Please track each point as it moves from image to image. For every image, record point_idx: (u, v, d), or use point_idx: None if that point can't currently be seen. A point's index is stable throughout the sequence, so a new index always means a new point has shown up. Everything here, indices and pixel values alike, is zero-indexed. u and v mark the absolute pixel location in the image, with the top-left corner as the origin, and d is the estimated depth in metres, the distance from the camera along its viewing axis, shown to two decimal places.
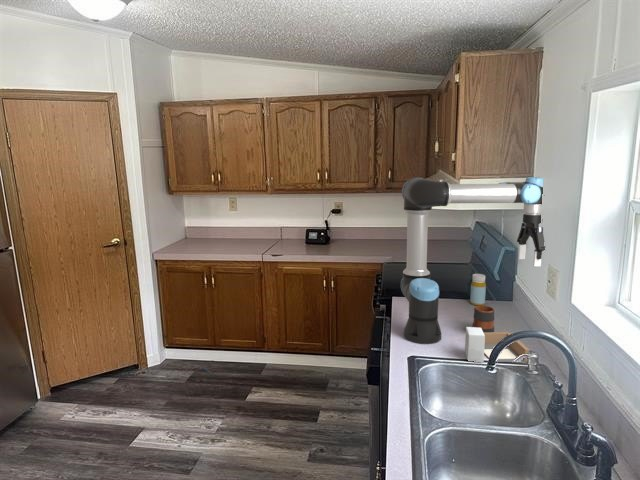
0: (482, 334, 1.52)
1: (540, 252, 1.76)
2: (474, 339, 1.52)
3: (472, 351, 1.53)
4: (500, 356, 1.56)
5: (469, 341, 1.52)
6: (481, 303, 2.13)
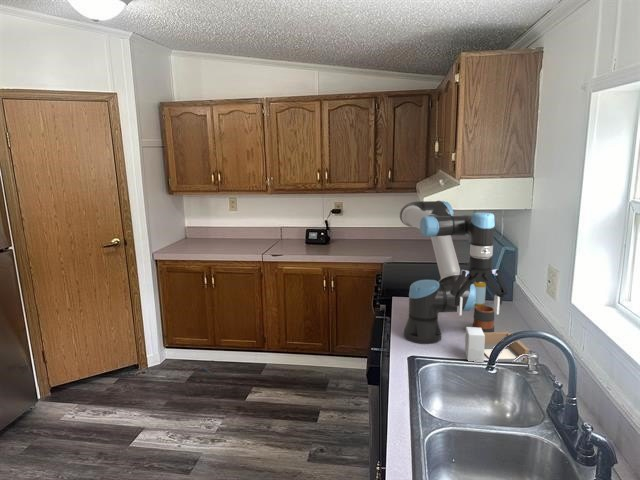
0: (482, 334, 1.52)
1: (456, 297, 1.53)
2: (474, 339, 1.52)
3: (472, 351, 1.53)
4: (500, 356, 1.56)
5: (469, 341, 1.52)
6: (481, 303, 2.13)
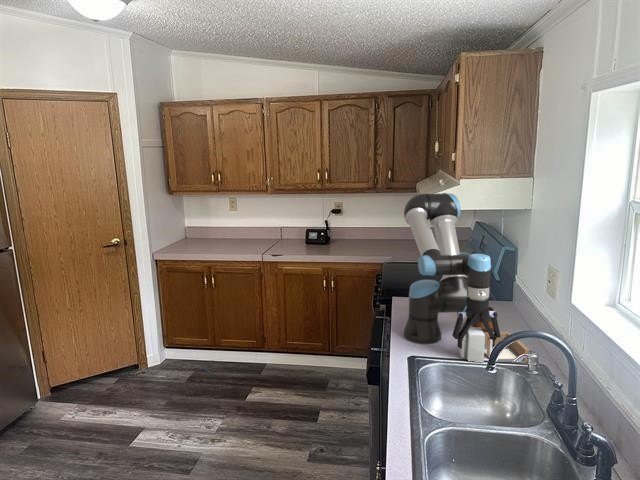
0: (482, 334, 1.52)
1: (458, 340, 1.55)
2: (474, 339, 1.52)
3: (472, 351, 1.53)
4: (500, 356, 1.56)
5: (469, 341, 1.52)
6: None
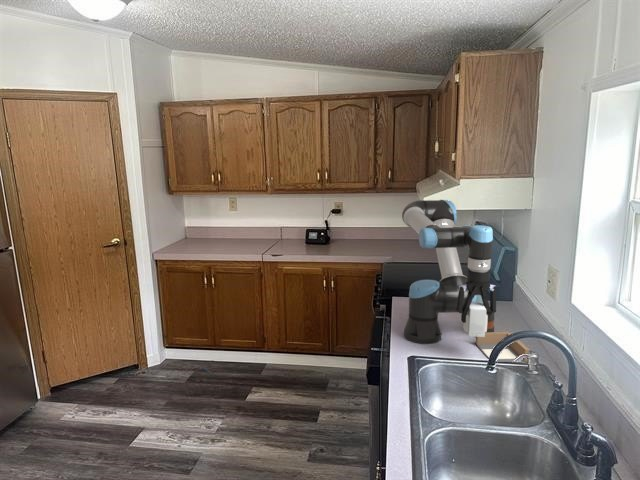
0: (483, 308, 1.51)
1: (462, 314, 1.54)
2: (475, 313, 1.50)
3: (473, 325, 1.51)
4: (500, 356, 1.56)
5: (470, 315, 1.51)
6: None
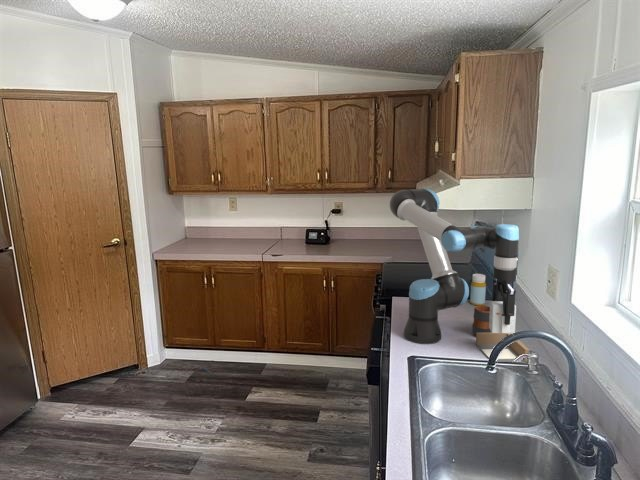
0: None
1: (508, 317, 1.51)
2: None
3: None
4: (500, 356, 1.56)
5: (515, 312, 1.52)
6: (481, 303, 2.13)
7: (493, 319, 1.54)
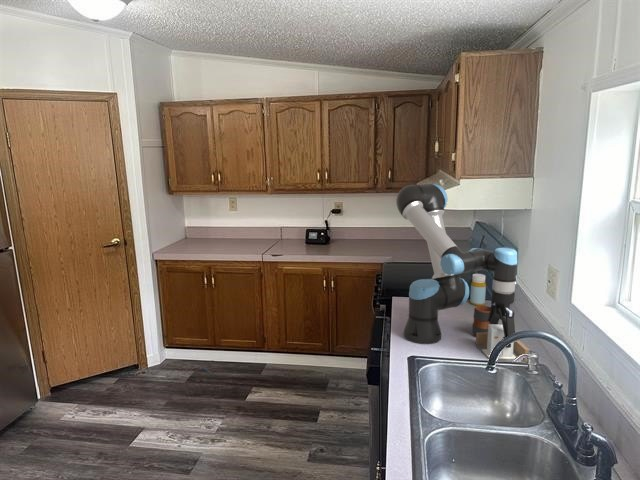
0: None
1: None
2: None
3: None
4: None
5: None
6: (481, 303, 2.13)
7: (491, 342, 1.55)
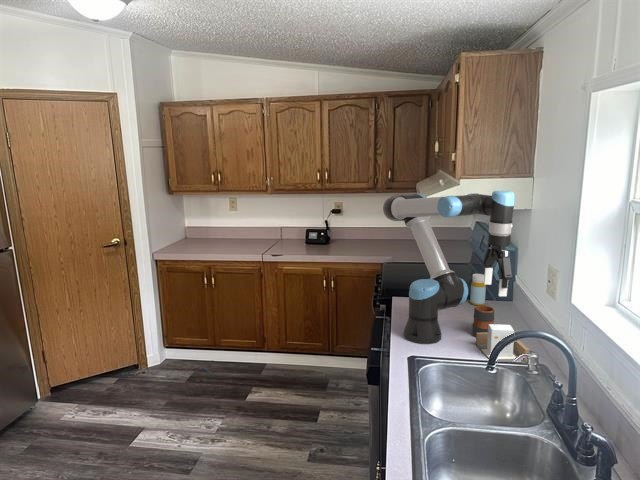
0: (507, 325, 1.58)
1: (506, 280, 1.49)
2: None
3: None
4: None
5: None
6: (481, 303, 2.13)
7: (491, 342, 1.55)
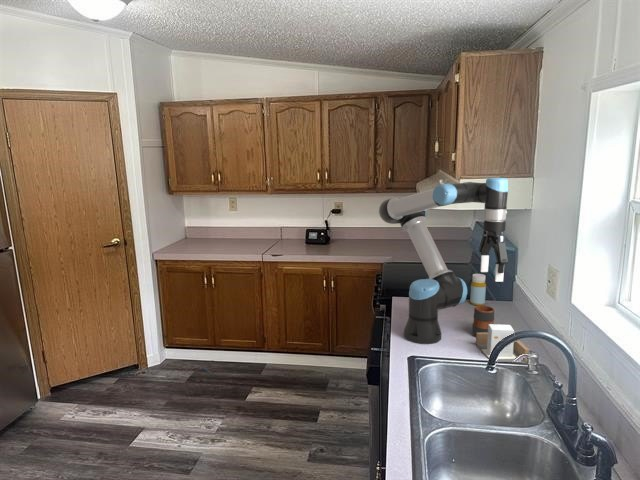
0: (507, 325, 1.58)
1: (502, 265, 1.50)
2: None
3: None
4: None
5: None
6: (481, 303, 2.13)
7: (491, 342, 1.55)
